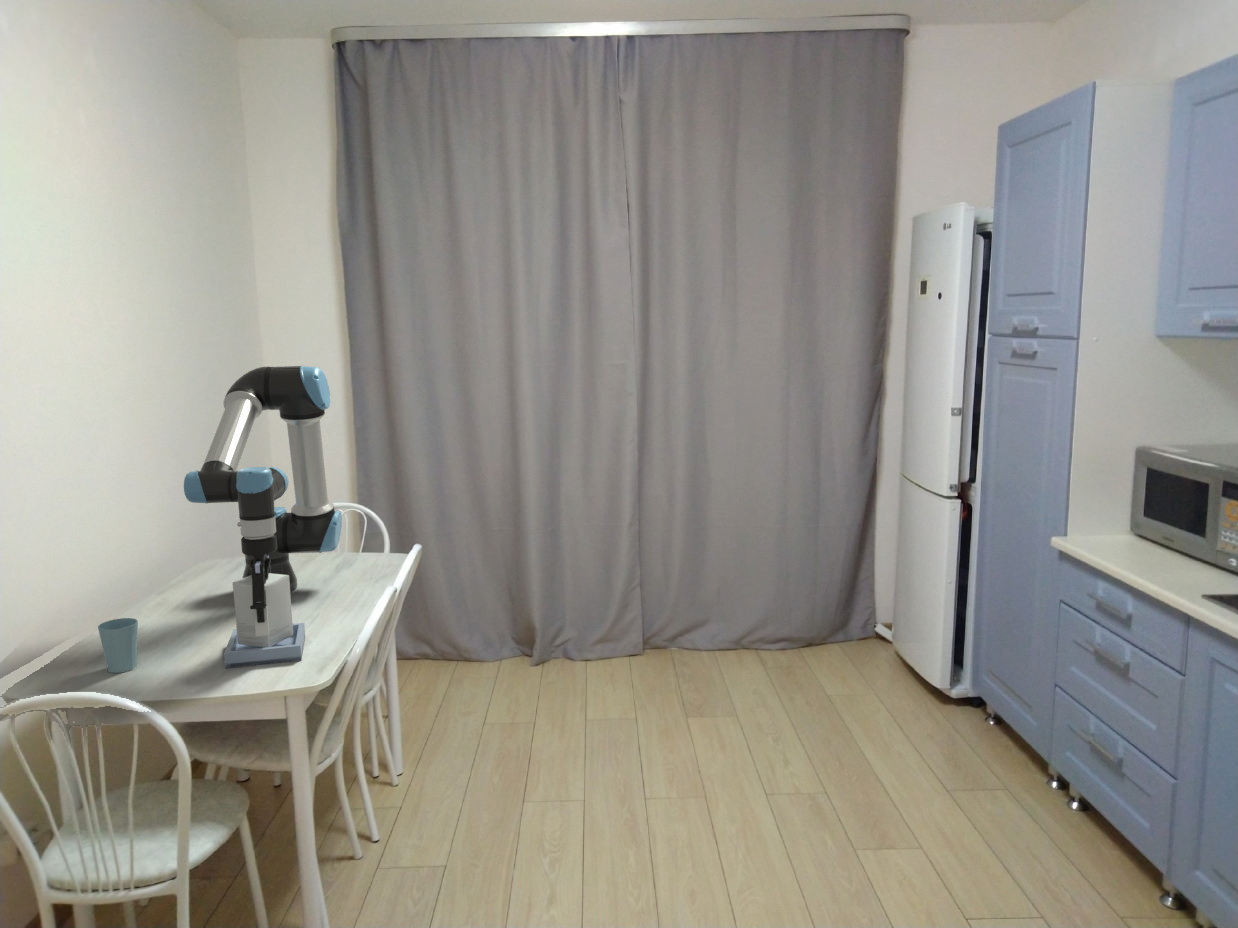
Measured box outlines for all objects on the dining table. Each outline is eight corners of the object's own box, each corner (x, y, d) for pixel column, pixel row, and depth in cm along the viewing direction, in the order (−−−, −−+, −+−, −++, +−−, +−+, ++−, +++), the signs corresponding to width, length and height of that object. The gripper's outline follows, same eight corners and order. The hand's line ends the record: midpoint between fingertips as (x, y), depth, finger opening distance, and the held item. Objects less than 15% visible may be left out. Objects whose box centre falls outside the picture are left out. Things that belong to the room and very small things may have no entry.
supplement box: (295, 635, 207) (290, 574, 204) (268, 648, 198) (263, 585, 196) (263, 631, 210) (259, 570, 207) (236, 644, 201) (231, 581, 199)
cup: (99, 667, 196) (94, 622, 194) (137, 658, 200) (133, 615, 199) (106, 677, 190) (101, 632, 188) (145, 668, 195) (141, 624, 193)
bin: (234, 643, 210) (233, 629, 209) (305, 636, 214) (304, 622, 214) (225, 668, 195) (223, 653, 194) (301, 660, 199) (300, 645, 199)
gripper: (247, 524, 210) (253, 610, 214) (233, 549, 187) (241, 645, 191) (280, 522, 212) (286, 607, 216) (271, 547, 190) (278, 642, 193)
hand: (265, 625), depth 203 cm, fingers closed on supplement box, 12 cm apart
